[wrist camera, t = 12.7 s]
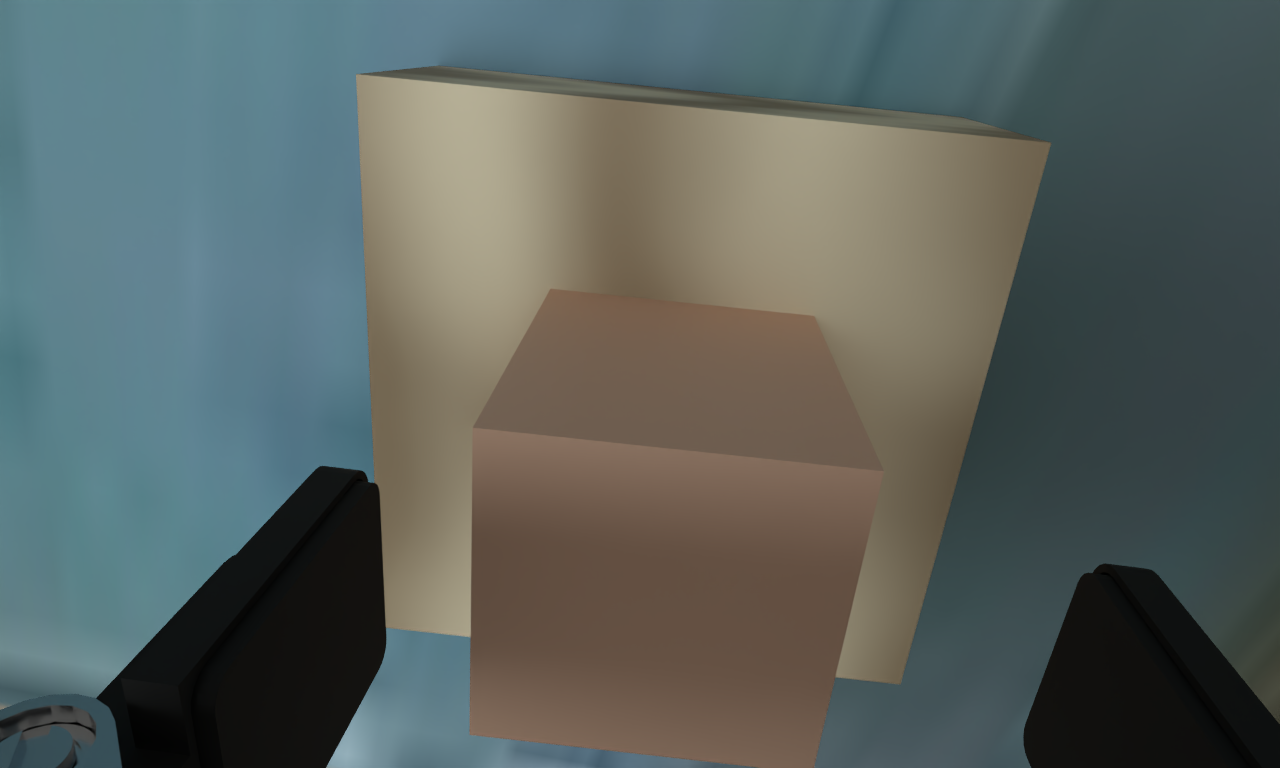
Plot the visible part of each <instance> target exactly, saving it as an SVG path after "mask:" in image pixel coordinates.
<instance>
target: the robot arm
mask: <svg viewBox="0 0 1280 768" xmlns="http://www.w3.org/2000/svg"><path fill="white" fill-rule="evenodd" d="M385 648H386V619H385V597H384V575H383V553H382V531H381V509H380V492H379V487H378V485H377V484H376V483H370V482H368V479H367V476H366V474H365V473H364V472H363V471H360V470H352V469H344V468H336V467H328V466H320V467H318V468H317V469H316V470H315V471H314V472H313V473H312V474H311V475H310V476H309V477H308V478H307V479H306V480H305V481H304V482H303V484H302V485H301V486H300V487H299V488H298V489H297V490H296V491H295V492H294V493H293V494H292V495H291V496H290V497H289V499H288V500H287V501H286V502H285V503H284V504H283V505H282V506H281V507H280V508H279V509H278V510H277V511H276V512H275V513H274V515H273V516H272V517H271V518H270V519H269V520H268V521H267V522H266V523H265V524H264V525H263V526H262V527H261V528H260V530H259V531H258V532H257V533H256V534H255V535H254V536H253V537H252V538H251V539H250V540H249V541H248V542H247V543H246V545H245V546H244V547H243V548H242V549H241V550H240V551H239V552H238V553H237V554H236V555H234V556H232V557H231V558H229V559H228V560H227V561H226V562H224V563H223V564H222V565H221V566H220V567H219V569H218V570H217V571H216V572H215V573H214V574H213V575H212V576H211V577H210V578H209V579H208V580H207V581H206V582H205V583H204V584H203V585H202V587H201V588H200V589H199V590H198V591H197V592H196V593H195V594H194V595H193V596H192V597H191V598H190V599H189V600H188V601H187V602H186V604H185V605H184V606H183V607H182V608H181V609H180V610H179V611H178V612H177V613H176V614H175V615H174V616H173V617H172V618H171V619H170V620H169V622H168V623H167V624H166V625H165V626H164V627H163V628H162V629H161V630H160V631H159V632H158V633H157V634H156V635H155V636H154V637H153V639H152V640H151V641H150V642H149V643H148V644H147V645H146V646H145V647H144V648H143V649H142V650H141V651H140V652H139V653H138V654H137V655H136V657H135V658H134V659H133V660H132V661H131V662H130V663H129V664H128V665H127V666H126V667H125V668H124V669H123V670H122V671H121V672H120V674H119V675H118V676H117V677H116V678H115V679H114V680H113V681H112V682H111V683H110V684H109V685H108V686H107V687H106V688H105V689H104V690H103V692H102V693H101V694H100V695H99V696H98V697H97V698H92V697H88V696H83V695H79V694H55V695H47V696H43V697H38V698H34V699H29V700H25V701H22V702H20V703H17V704H14V705H12V706H9V707H7V708H4V709H2V710H0V768H326V767H327V765H328V763H329V761H330V759H331V757H332V756H333V754H334V752H335V750H336V748H337V746H338V744H339V743H340V741H341V739H342V737H343V735H344V733H345V731H346V730H347V728H348V726H349V724H350V722H351V720H352V718H353V717H354V715H355V713H356V711H357V709H358V707H359V705H360V704H361V702H362V700H363V698H364V696H365V694H366V692H367V691H368V689H369V687H370V685H371V683H372V681H373V679H374V678H375V676H376V674H377V672H378V670H379V668H380V666H381V664H382V661H383V658H384V653H385ZM1024 748H1025V753H1026V756H1027V759H1028V761H1029V763H1030V766H1031V768H1280V724H1279V723H1278V722H1277V721H1276V719H1275V718H1274V717H1273V716H1272V715H1271V713H1270V712H1269V711H1268V710H1267V708H1266V707H1265V706H1264V705H1263V704H1262V702H1261V701H1260V700H1259V699H1258V697H1257V696H1256V695H1255V694H1254V692H1253V691H1252V690H1251V689H1250V688H1249V686H1248V685H1247V684H1246V683H1245V681H1244V680H1243V679H1242V678H1241V677H1240V675H1239V674H1238V673H1237V672H1236V670H1235V669H1234V668H1233V667H1232V665H1231V664H1230V663H1229V662H1228V661H1227V659H1226V658H1225V657H1224V656H1223V654H1222V653H1221V652H1220V651H1219V649H1218V648H1217V647H1216V646H1215V645H1214V643H1213V642H1212V641H1211V640H1210V638H1209V637H1208V636H1207V635H1206V634H1205V632H1204V631H1203V630H1202V629H1201V627H1200V626H1199V625H1198V624H1197V622H1196V621H1195V620H1194V619H1193V618H1192V616H1191V615H1190V614H1189V613H1188V611H1187V610H1186V609H1185V608H1184V607H1183V605H1182V604H1181V603H1180V602H1179V600H1178V599H1177V598H1176V597H1175V595H1174V594H1173V593H1172V592H1171V591H1170V589H1169V588H1168V587H1167V586H1166V584H1165V583H1164V582H1163V581H1162V579H1161V578H1160V577H1159V576H1158V575H1157V574H1156V573H1155V572H1154V571H1153V570H1149V569H1144V568H1136V567H1128V566H1120V565H1112V564H1102V565H1099V566H1098V567H1097V568H1096V569H1095V570H1094V572H1093V573H1086V574H1084V575H1083V576H1082V577H1081V578H1080V580H1079V582H1078V584H1077V587H1076V590H1075V592H1074V595H1073V598H1072V600H1071V603H1070V606H1069V608H1068V611H1067V614H1066V617H1065V619H1064V622H1063V625H1062V627H1061V630H1060V633H1059V635H1058V638H1057V641H1056V643H1055V646H1054V649H1053V651H1052V654H1051V657H1050V660H1049V662H1048V665H1047V668H1046V670H1045V673H1044V676H1043V678H1042V681H1041V684H1040V686H1039V689H1038V692H1037V695H1036V697H1035V700H1034V703H1033V705H1032V708H1031V711H1030V713H1029V716H1028V719H1027V721H1026V724H1025V728H1024Z"/></svg>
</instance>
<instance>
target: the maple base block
mask: <svg viewBox="0 0 1280 768" xmlns="http://www.w3.org/2000/svg"><path fill="white" fill-rule="evenodd" d="M356 81H357V103H358V125H359V147H360V169H361V191H362V213H363V235H364V257H365V280H366V302H367V324H368V346H369V368H370V390H371V412H372V434H373V456H374V479H375V483H376V484H377V485H378V487H379V492H380V509H381V531H382V553H383V575H384V597H385V619H386V628H394V629H403V630H412V631H421V632H430V633H439V634H449V635H458V636H467V637H471V543H472V438H473V426H474V424H475V423H476V421H477V419H478V417H479V415H480V414H481V412H482V410H483V408H484V406H485V405H486V403H487V401H488V399H489V398H490V396H491V394H492V392H493V390H494V389H495V387H496V385H497V383H498V382H499V380H500V378H501V376H502V374H503V373H504V371H505V369H506V367H507V365H508V364H509V362H510V360H511V358H512V357H513V355H514V353H515V351H516V349H517V348H518V346H519V344H520V342H521V340H522V339H523V337H524V335H525V333H526V332H527V330H528V328H529V326H530V324H531V323H532V321H533V319H534V317H535V315H536V314H537V312H538V310H539V308H540V307H541V305H542V303H543V301H544V299H545V298H546V296H547V294H548V292H549V290H550V289H558V290H568V291H578V292H587V293H597V294H607V295H617V296H626V297H636V298H646V299H655V300H665V301H675V302H684V303H694V304H704V305H713V306H723V307H733V308H743V309H752V310H762V311H772V312H781V313H791V314H801V315H810V316H814V317H815V319H816V321H817V323H818V326H819V328H820V330H821V332H822V334H823V337H824V339H825V341H826V343H827V346H828V348H829V350H830V352H831V354H832V357H833V359H834V361H835V363H836V366H837V368H838V370H839V372H840V375H841V377H842V379H843V381H844V383H845V386H846V388H847V390H848V392H849V395H850V397H851V399H852V401H853V403H854V406H855V408H856V410H857V412H858V415H859V417H860V419H861V421H862V423H863V426H864V428H865V430H866V432H867V435H868V437H869V439H870V441H871V443H872V446H873V448H874V450H875V452H876V455H877V457H878V459H879V461H880V463H881V466H882V468H883V470H884V474H883V478H882V482H881V487H880V491H879V495H878V499H877V503H876V508H875V512H874V516H873V520H872V525H871V529H870V533H869V537H868V541H867V546H866V550H865V554H864V558H863V562H862V567H861V571H860V575H859V579H858V583H857V588H856V592H855V596H854V600H853V604H852V609H851V613H850V617H849V621H848V626H847V630H846V634H845V638H844V642H843V647H842V651H841V655H840V659H839V663H838V668H837V672H836V676H835V677H838V678H847V679H856V680H865V681H875V682H884V683H893V684H901V680H902V676H903V673H904V669H905V666H906V662H907V658H908V655H909V651H910V648H911V644H912V640H913V637H914V633H915V630H916V626H917V623H918V619H919V615H920V612H921V608H922V605H923V601H924V597H925V594H926V590H927V587H928V583H929V580H930V576H931V572H932V569H933V565H934V562H935V558H936V554H937V551H938V547H939V544H940V540H941V536H942V533H943V529H944V526H945V522H946V519H947V515H948V511H949V508H950V504H951V501H952V497H953V493H954V490H955V486H956V483H957V479H958V476H959V472H960V468H961V465H962V461H963V458H964V454H965V450H966V447H967V443H968V440H969V436H970V432H971V429H972V425H973V422H974V418H975V415H976V411H977V407H978V404H979V400H980V397H981V393H982V389H983V386H984V382H985V379H986V375H987V372H988V368H989V364H990V361H991V357H992V354H993V350H994V346H995V343H996V339H997V336H998V332H999V328H1000V325H1001V321H1002V318H1003V314H1004V311H1005V307H1006V303H1007V300H1008V296H1009V293H1010V289H1011V285H1012V282H1013V278H1014V275H1015V271H1016V268H1017V264H1018V260H1019V257H1020V253H1021V250H1022V246H1023V242H1024V239H1025V235H1026V232H1027V228H1028V224H1029V221H1030V217H1031V214H1032V210H1033V207H1034V203H1035V199H1036V196H1037V192H1038V189H1039V185H1040V181H1041V178H1042V174H1043V171H1044V167H1045V164H1046V160H1047V156H1048V153H1049V149H1050V146H1051V143H1050V142H1047V141H1043V140H1040V139H1036V138H1033V137H1029V136H1026V135H1022V134H1019V133H1015V132H1012V131H1008V130H1005V129H1001V128H998V127H994V126H991V125H987V124H984V123H980V122H977V121H973V120H969V119H966V118H962V117H954V116H944V115H934V114H924V113H914V112H904V111H893V110H883V109H873V108H863V107H853V106H843V105H832V104H822V103H812V102H802V101H792V100H781V99H771V98H761V97H751V96H741V95H731V94H720V93H710V92H700V91H690V90H680V89H670V88H659V87H649V86H639V85H629V84H619V83H609V82H598V81H588V80H578V79H568V78H558V77H547V76H537V75H527V74H517V73H507V72H497V71H486V70H476V69H466V68H456V67H446V66H431V67H422V68H412V69H402V70H393V71H383V72H373V73H364V74H356Z"/></svg>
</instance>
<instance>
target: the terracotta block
mask: <svg viewBox="0 0 1280 768" xmlns="http://www.w3.org/2000/svg"><path fill="white" fill-rule="evenodd" d="M883 474H884V470H883V468H882V466H881V463H880V461H879V459H878V457H877V455H876V452H875V450H874V448H873V446H872V443H871V441H870V439H869V437H868V435H867V432H866V430H865V428H864V426H863V423H862V421H861V419H860V417H859V415H858V412H857V410H856V408H855V406H854V403H853V401H852V399H851V397H850V395H849V392H848V390H847V388H846V386H845V383H844V381H843V379H842V377H841V375H840V372H839V370H838V368H837V366H836V363H835V361H834V359H833V357H832V354H831V352H830V350H829V348H828V346H827V343H826V341H825V339H824V337H823V334H822V332H821V330H820V328H819V326H818V323H817V321H816V319H815V317H814V316H810V315H801V314H791V313H781V312H772V311H762V310H752V309H743V308H733V307H723V306H713V305H704V304H694V303H684V302H675V301H665V300H655V299H646V298H636V297H626V296H617V295H607V294H597V293H587V292H578V291H568V290H558V289H550V290H549V292H548V294H547V296H546V298H545V299H544V301H543V303H542V305H541V307H540V308H539V310H538V312H537V314H536V315H535V317H534V319H533V321H532V323H531V324H530V326H529V328H528V330H527V332H526V333H525V335H524V337H523V339H522V340H521V342H520V344H519V346H518V348H517V349H516V351H515V353H514V355H513V357H512V358H511V360H510V362H509V364H508V365H507V367H506V369H505V371H504V373H503V374H502V376H501V378H500V380H499V382H498V383H497V385H496V387H495V389H494V390H493V392H492V394H491V396H490V398H489V399H488V401H487V403H486V405H485V406H484V408H483V410H482V412H481V414H480V415H479V417H478V419H477V421H476V423H475V424H474V426H473V438H472V543H471V648H470V735H476V736H485V737H494V738H503V739H512V740H521V741H529V742H538V743H547V744H556V745H565V746H574V747H583V748H592V749H600V750H609V751H618V752H627V753H636V754H645V755H654V756H662V757H671V758H680V759H689V760H698V761H707V762H716V763H725V764H733V765H742V766H751V767H760V768H814V764H815V760H816V756H817V752H818V748H819V743H820V739H821V735H822V731H823V727H824V722H825V718H826V714H827V710H828V706H829V701H830V697H831V693H832V689H833V684H834V680H835V676H836V672H837V668H838V663H839V659H840V655H841V651H842V647H843V642H844V638H845V634H846V630H847V626H848V621H849V617H850V613H851V609H852V604H853V600H854V596H855V592H856V588H857V583H858V579H859V575H860V571H861V567H862V562H863V558H864V554H865V550H866V546H867V541H868V537H869V533H870V529H871V525H872V520H873V516H874V512H875V508H876V503H877V499H878V495H879V491H880V487H881V482H882V478H883Z"/></svg>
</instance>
